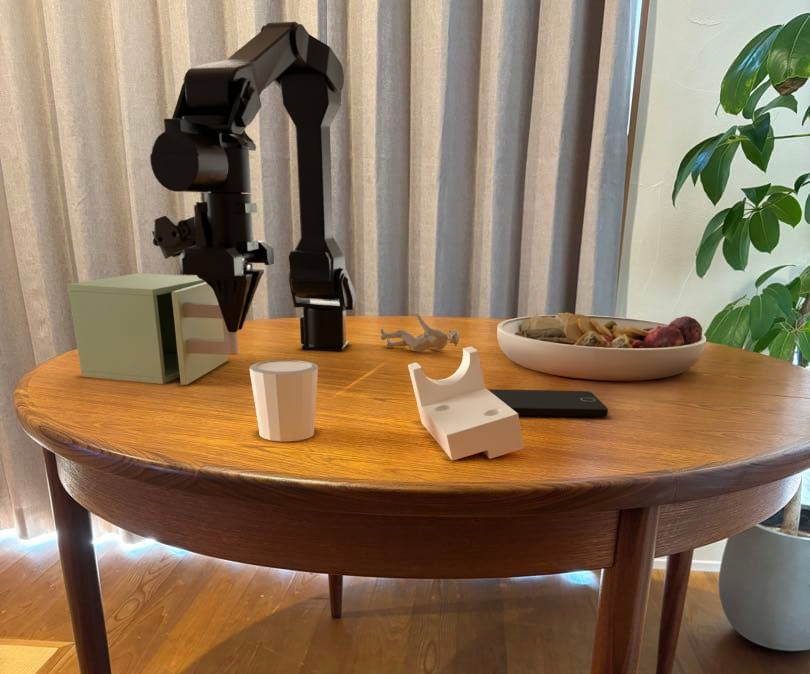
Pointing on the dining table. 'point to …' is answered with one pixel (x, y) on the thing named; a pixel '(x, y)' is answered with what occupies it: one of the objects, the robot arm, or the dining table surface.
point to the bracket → (466, 411)
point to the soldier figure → (421, 338)
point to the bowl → (602, 346)
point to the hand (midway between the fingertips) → (235, 330)
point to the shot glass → (285, 398)
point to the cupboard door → (200, 332)
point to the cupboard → (128, 326)
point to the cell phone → (552, 402)
